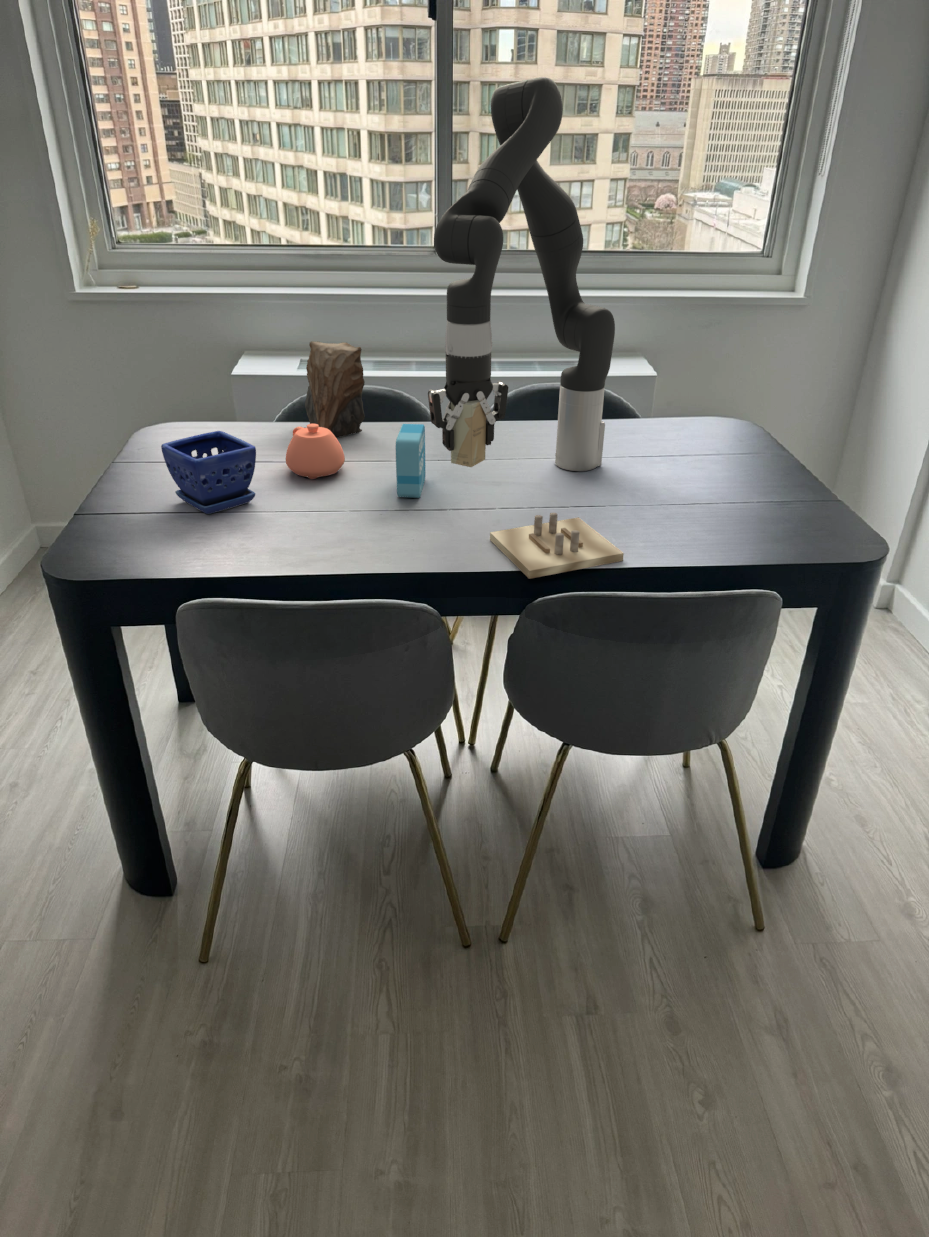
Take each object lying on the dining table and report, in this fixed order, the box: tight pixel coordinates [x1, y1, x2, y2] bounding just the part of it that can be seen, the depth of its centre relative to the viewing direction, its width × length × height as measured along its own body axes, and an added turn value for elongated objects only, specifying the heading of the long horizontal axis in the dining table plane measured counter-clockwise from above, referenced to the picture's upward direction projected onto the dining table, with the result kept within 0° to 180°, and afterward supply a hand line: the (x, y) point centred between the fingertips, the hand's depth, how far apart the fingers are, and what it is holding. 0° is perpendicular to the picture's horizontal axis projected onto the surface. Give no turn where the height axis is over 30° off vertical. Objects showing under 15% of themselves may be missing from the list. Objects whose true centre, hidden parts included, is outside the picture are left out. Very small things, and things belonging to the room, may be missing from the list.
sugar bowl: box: [285, 423, 346, 480], centre depth 184 cm, size 12×14×10 cm
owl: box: [304, 340, 366, 439], centre depth 204 cm, size 13×13×20 cm
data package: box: [395, 423, 426, 499], centre depth 175 cm, size 12×4×12 cm, turn 176°
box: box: [450, 399, 488, 468], centre depth 150 cm, size 5×4×11 cm
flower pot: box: [160, 430, 257, 515], centre depth 168 cm, size 13×13×12 cm
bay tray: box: [489, 512, 625, 580], centre depth 153 cm, size 18×16×5 cm
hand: (468, 446), depth 152 cm, fingers closed on box, 6 cm apart
